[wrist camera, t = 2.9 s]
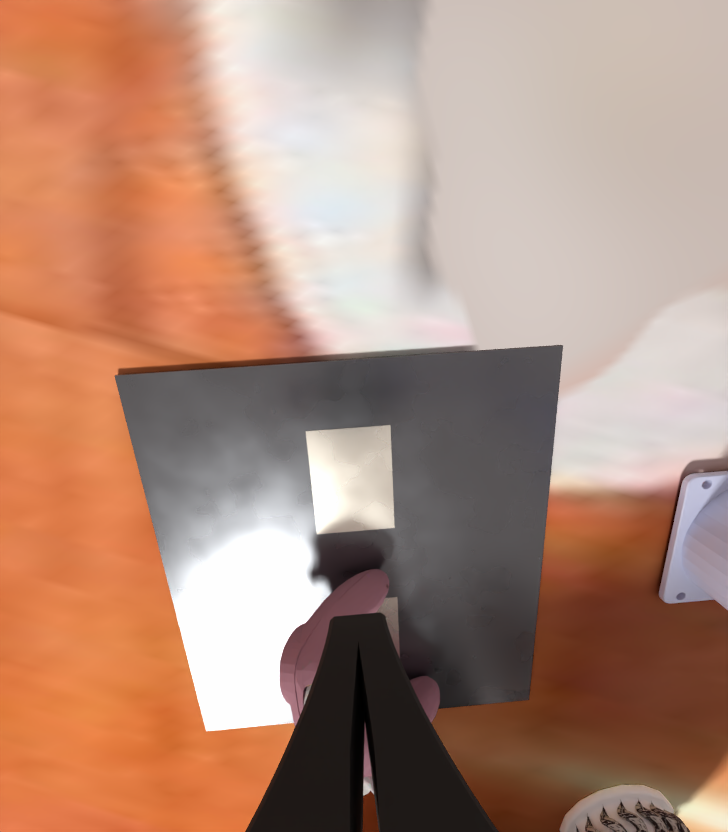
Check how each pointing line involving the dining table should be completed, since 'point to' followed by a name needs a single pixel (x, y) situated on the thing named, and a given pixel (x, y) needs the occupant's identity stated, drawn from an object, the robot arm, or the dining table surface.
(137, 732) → the dining table surface
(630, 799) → the decorative candle
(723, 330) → the dining table surface
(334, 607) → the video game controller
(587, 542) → the dining table surface
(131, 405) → the panel
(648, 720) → the dining table surface
